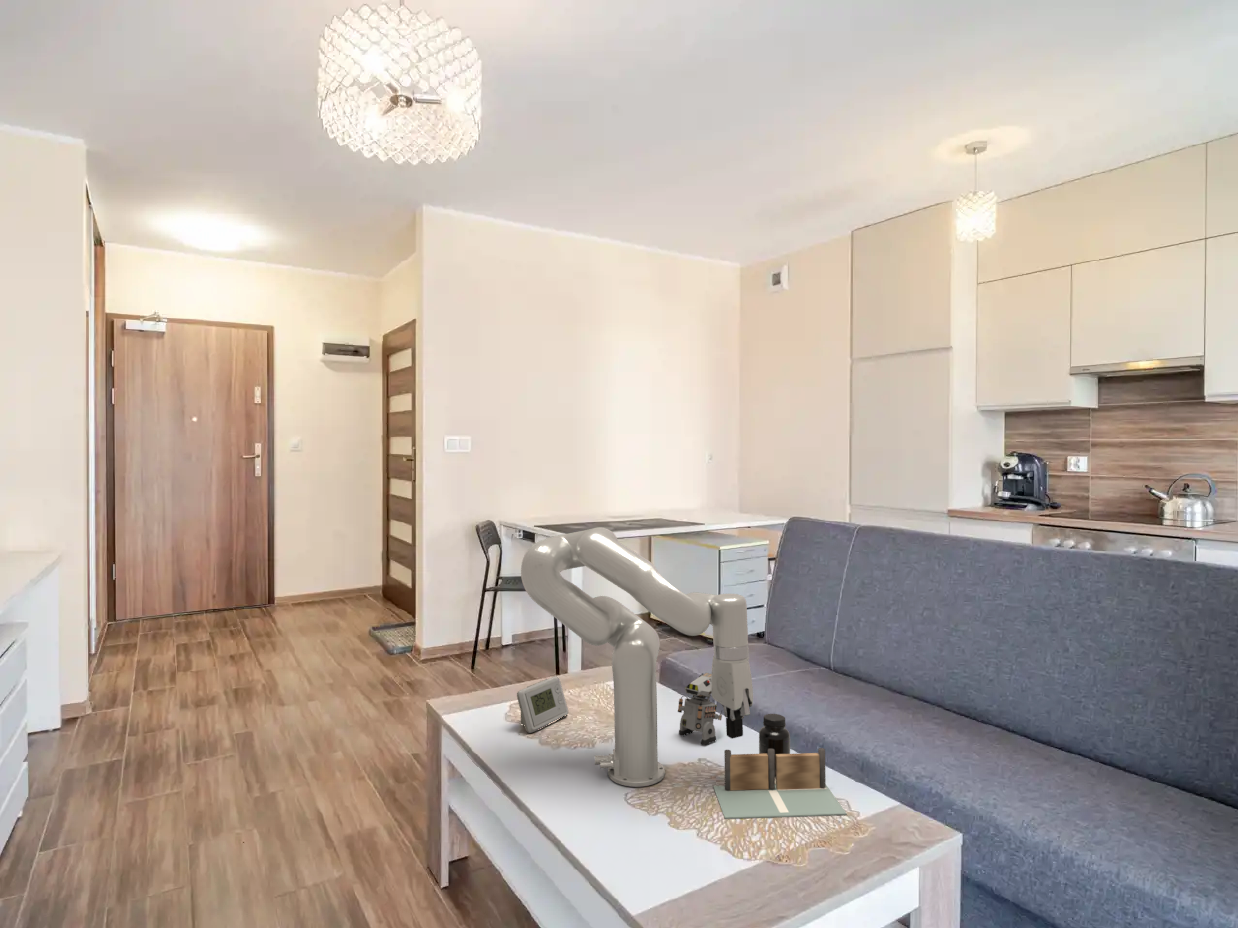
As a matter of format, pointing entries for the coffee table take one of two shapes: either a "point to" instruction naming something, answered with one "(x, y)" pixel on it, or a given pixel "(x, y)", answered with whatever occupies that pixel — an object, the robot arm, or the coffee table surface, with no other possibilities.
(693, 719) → the figurine
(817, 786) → the fence fixed panel
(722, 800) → the board
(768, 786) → the panel
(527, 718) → the digital clock
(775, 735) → the supplement bottle
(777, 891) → the coffee table surface
